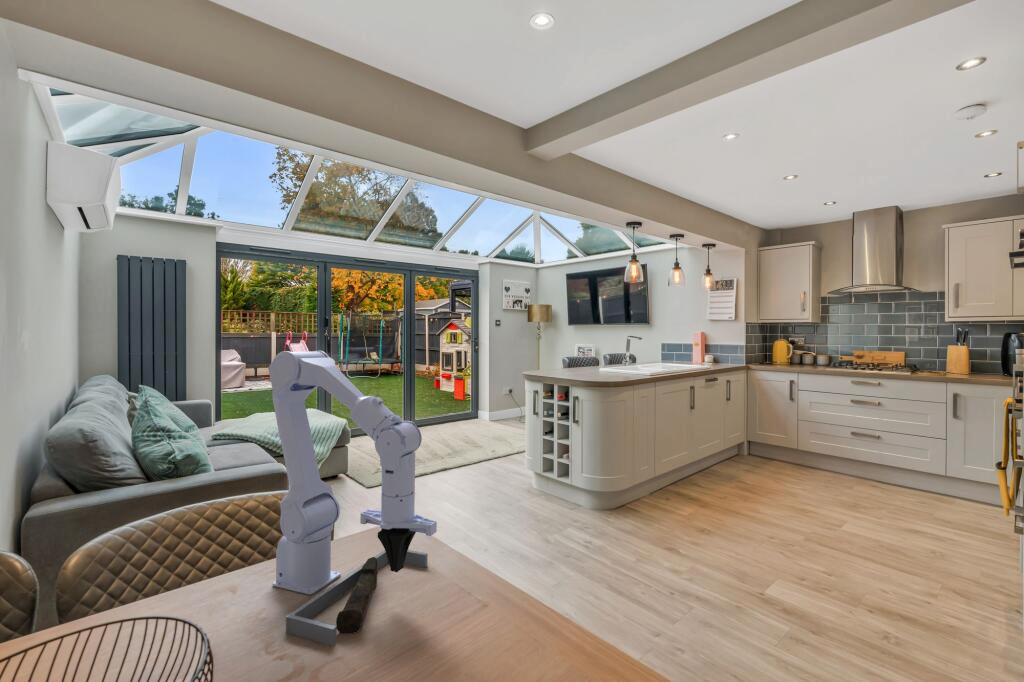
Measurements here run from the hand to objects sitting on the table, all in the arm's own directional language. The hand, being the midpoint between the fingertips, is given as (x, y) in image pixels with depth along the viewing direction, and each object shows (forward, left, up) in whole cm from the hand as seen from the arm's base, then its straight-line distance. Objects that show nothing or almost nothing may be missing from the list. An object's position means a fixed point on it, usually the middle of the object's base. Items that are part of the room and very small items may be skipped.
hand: (397, 569), depth 84 cm
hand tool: (-6, -2, -6) cm, 9 cm away
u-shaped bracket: (-6, 0, -6) cm, 9 cm away
